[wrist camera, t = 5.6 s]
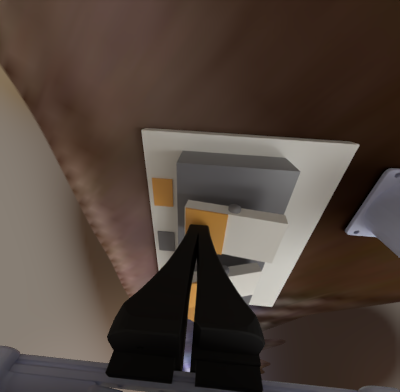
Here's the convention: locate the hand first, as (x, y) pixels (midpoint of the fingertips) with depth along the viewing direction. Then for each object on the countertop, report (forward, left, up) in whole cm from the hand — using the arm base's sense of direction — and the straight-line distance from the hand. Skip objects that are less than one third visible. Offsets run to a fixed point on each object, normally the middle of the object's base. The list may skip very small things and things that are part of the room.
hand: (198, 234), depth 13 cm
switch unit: (-3, +7, -7) cm, 10 cm away
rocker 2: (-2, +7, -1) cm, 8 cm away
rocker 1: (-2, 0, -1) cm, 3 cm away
